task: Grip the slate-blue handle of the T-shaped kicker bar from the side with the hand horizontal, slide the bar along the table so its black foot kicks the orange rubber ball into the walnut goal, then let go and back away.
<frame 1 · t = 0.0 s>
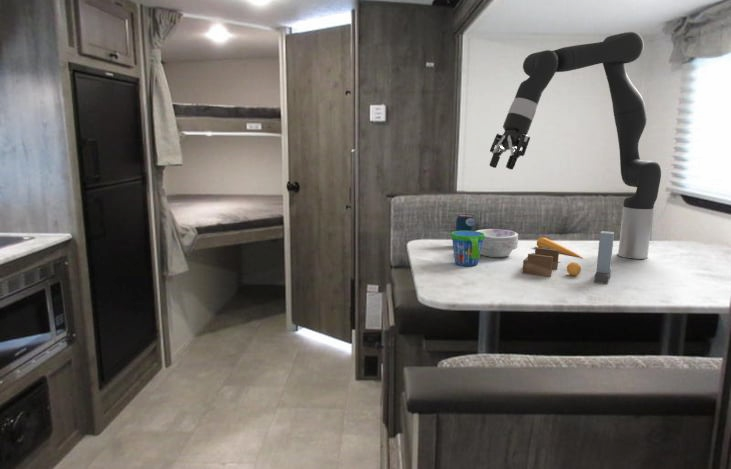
hand: (500, 167, 153), 31 cm above the table, tool tilted 20°, fingers open, 8 cm apart
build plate: (545, 262, 172), on the table
ball: (573, 275, 153), on the table
snack cup: (466, 264, 165), on the table
goal: (542, 271, 157), on the table
paper bowls: (494, 255, 179), on the table
soda can: (464, 247, 190), on the table
carrot: (559, 253, 183), on the table
kicker: (602, 279, 149), on the table
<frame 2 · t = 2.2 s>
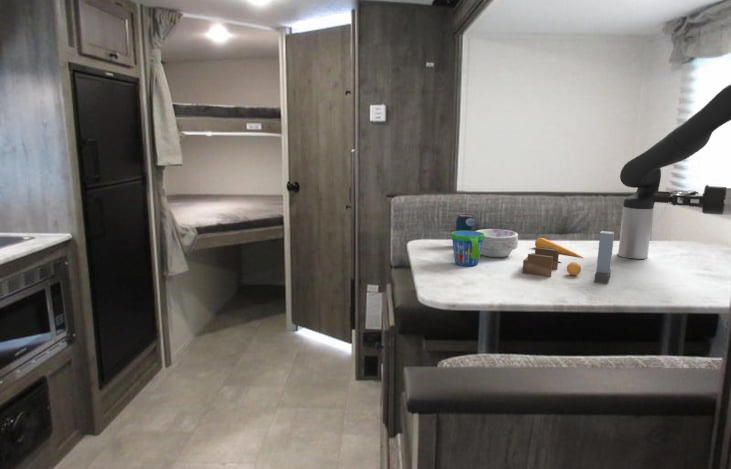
hand: (653, 196, 139), 25 cm above the table, tool horizontal, fingers open, 8 cm apart
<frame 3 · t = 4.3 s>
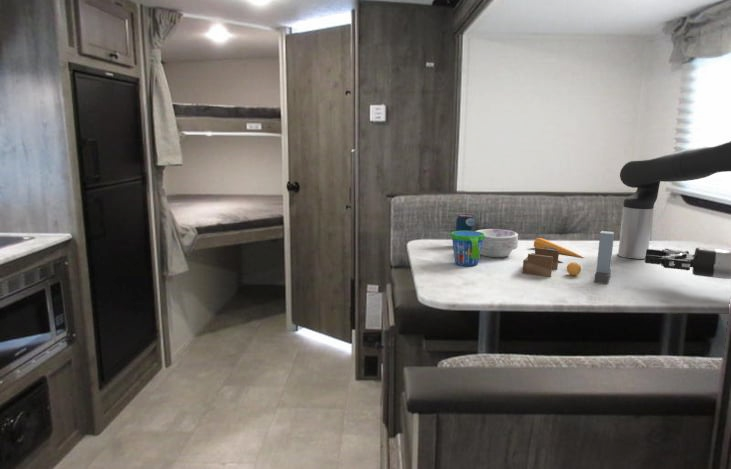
hand: (645, 255, 142), 8 cm above the table, tool horizontal, fingers open, 8 cm apart
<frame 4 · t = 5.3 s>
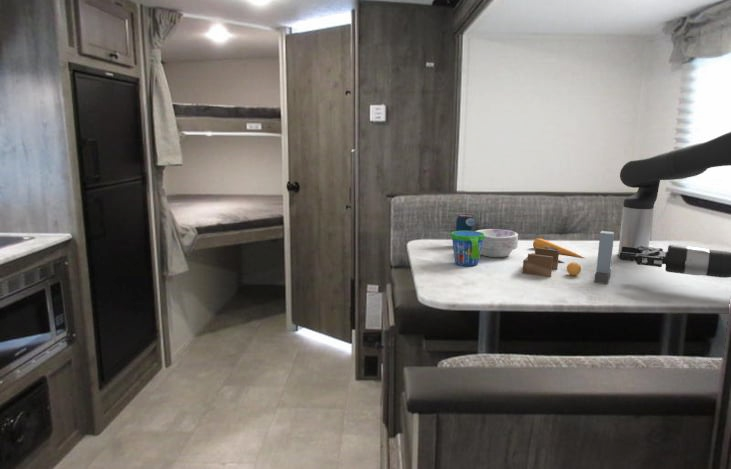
hand: (620, 252, 145), 8 cm above the table, tool horizontal, fingers open, 8 cm apart
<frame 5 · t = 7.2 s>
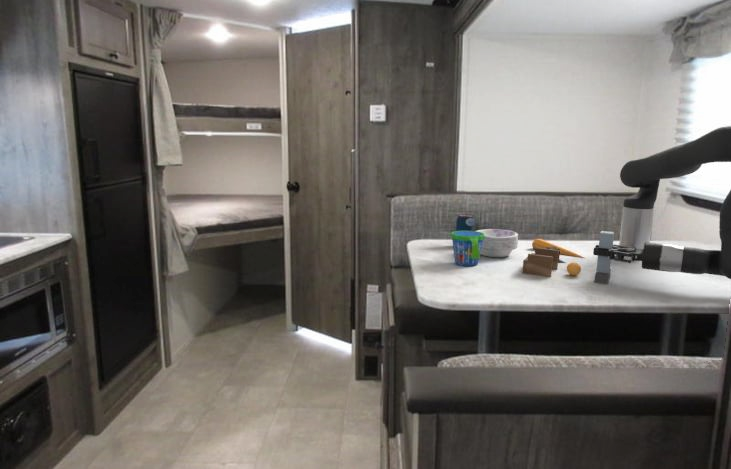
hand: (594, 249, 149), 9 cm above the table, tool horizontal, fingers closed on kicker, 3 cm apart
kicker: (602, 279, 149), on the table, touching gripper
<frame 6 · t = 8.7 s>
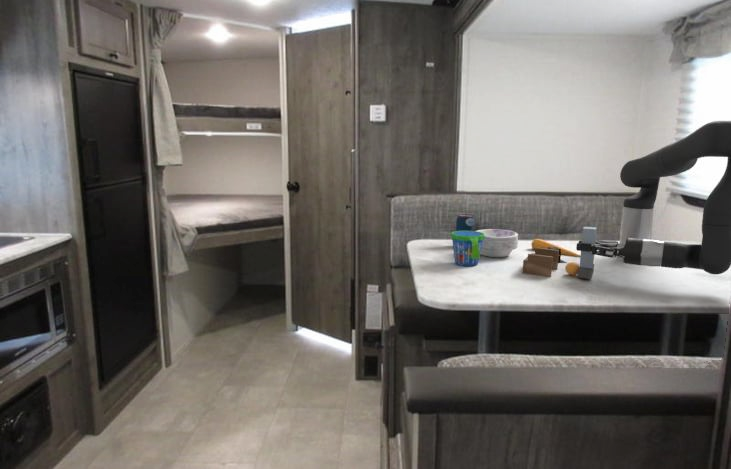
hand: (577, 245, 151), 9 cm above the table, tool horizontal, fingers closed on kicker, 3 cm apart
ball: (572, 275, 153), on the table, tilted 5°
kicker: (585, 274, 151), point 1 cm above the table, touching gripper
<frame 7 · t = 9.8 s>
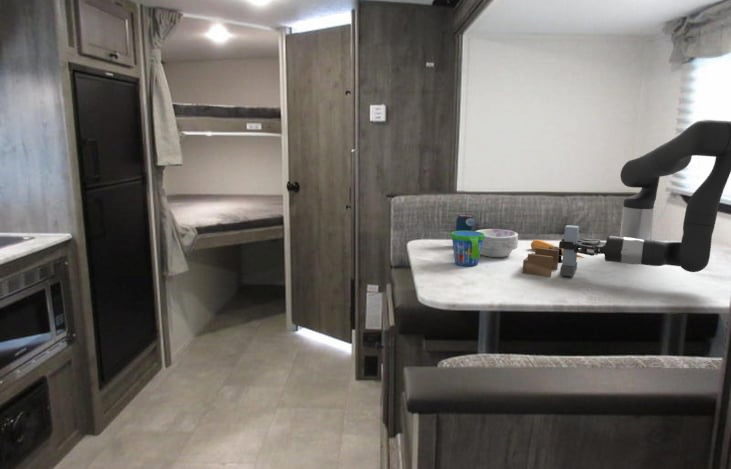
hand: (560, 243, 153), 9 cm above the table, tool horizontal, fingers closed on kicker, 3 cm apart
ball: (531, 266, 159), point 1 cm above the table, tilted 64°
kicker: (568, 272, 154), point 1 cm above the table, touching gripper
when the fingers open (9 cm above the table, at t = 11.1 s): kicker stays where it is, on the table.
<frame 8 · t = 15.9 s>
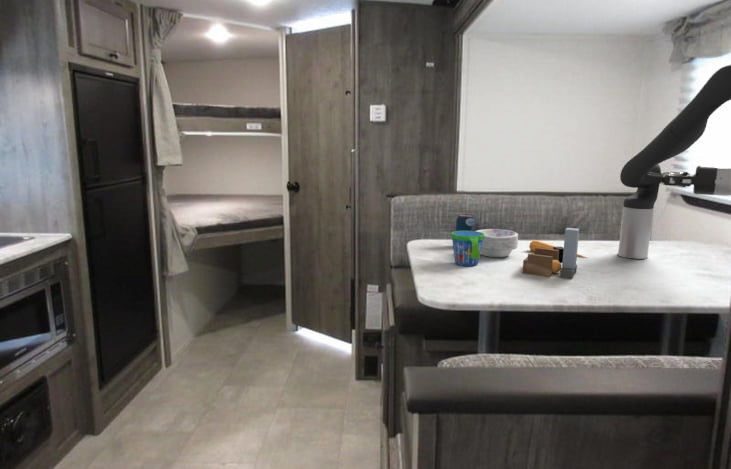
hand: (646, 177, 141), 30 cm above the table, tool horizontal, fingers open, 8 cm apart
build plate: (558, 261, 173), on the table
ball: (557, 260, 155), point 4 cm above the table, tilted 156°
carrot: (557, 255, 180), on the table
kicker: (568, 274, 154), on the table
everything else where it was.
at the end: ball inside the target area on the goal (4.1 cm from its centre), point 3.8 cm above the goal's base; kicker moved 9.4 cm from its start; the gripper is holding nothing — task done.
